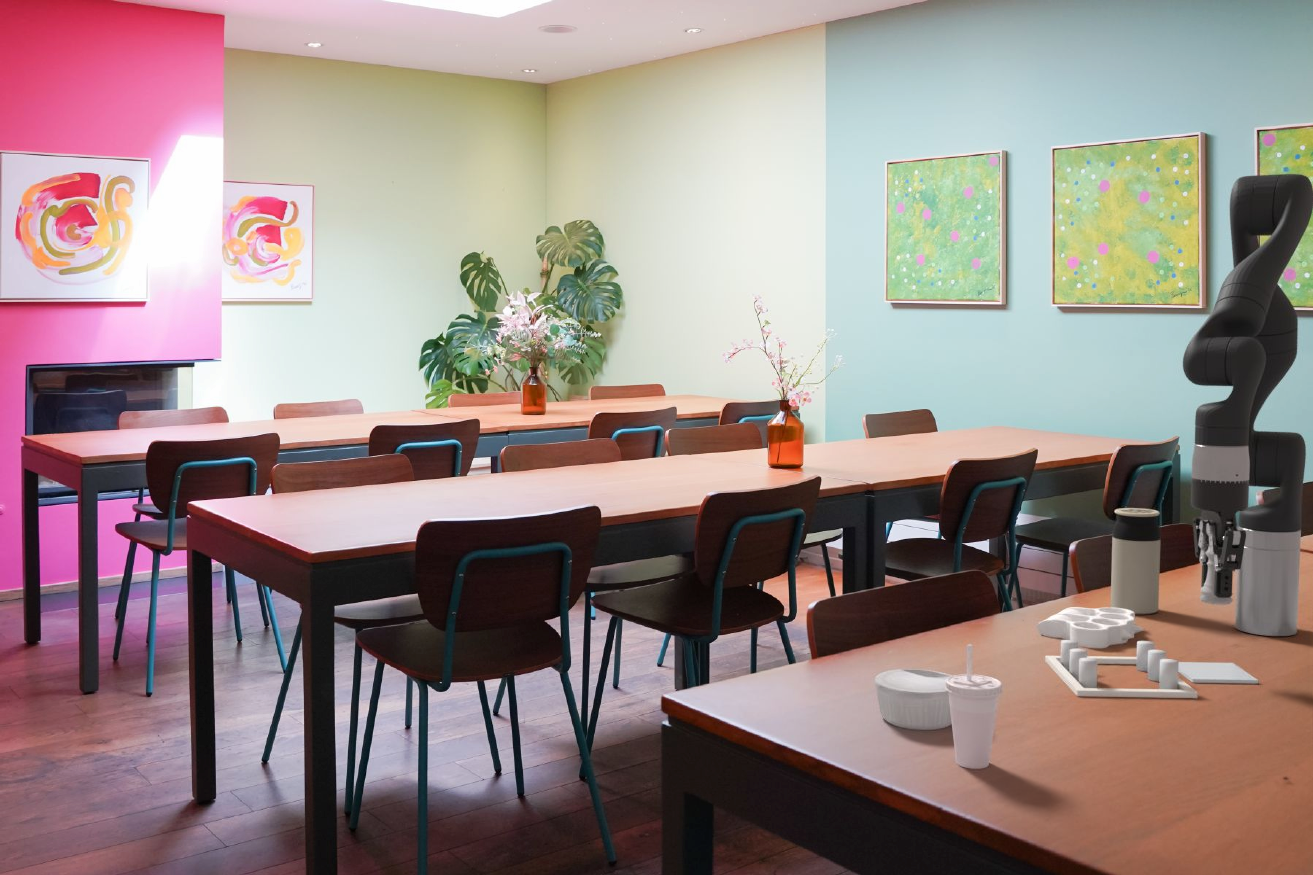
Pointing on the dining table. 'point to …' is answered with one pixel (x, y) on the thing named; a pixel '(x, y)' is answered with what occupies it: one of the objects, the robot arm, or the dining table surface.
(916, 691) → the ramekin
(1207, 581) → the rook chess piece
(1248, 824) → the dining table surface
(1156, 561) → the travel mug
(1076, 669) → the frame
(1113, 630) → the white holed part
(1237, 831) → the dining table surface
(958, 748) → the smoothie
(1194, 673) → the tile
